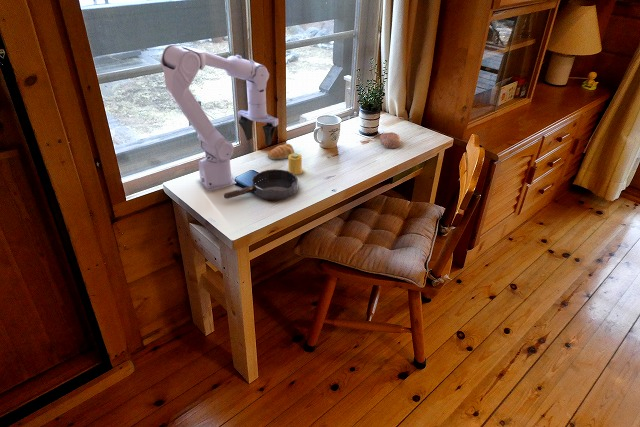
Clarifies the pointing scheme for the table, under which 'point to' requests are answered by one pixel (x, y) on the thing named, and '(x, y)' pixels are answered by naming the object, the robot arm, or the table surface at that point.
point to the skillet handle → (239, 192)
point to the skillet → (275, 184)
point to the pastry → (281, 152)
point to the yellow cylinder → (295, 163)
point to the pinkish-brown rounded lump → (390, 140)
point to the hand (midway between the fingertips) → (258, 141)
